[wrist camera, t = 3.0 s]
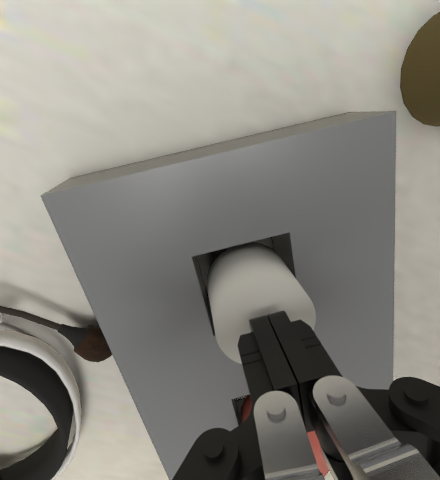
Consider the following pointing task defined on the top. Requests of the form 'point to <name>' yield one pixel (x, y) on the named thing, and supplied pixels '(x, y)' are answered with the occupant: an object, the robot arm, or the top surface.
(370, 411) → the robot arm
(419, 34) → the brown pawn
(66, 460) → the headset
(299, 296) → the grey button
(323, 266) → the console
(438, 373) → the top surface
